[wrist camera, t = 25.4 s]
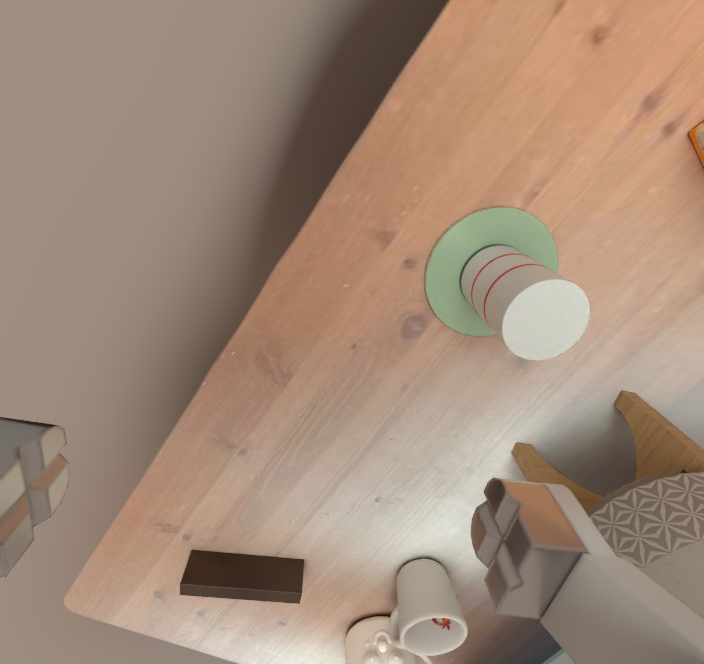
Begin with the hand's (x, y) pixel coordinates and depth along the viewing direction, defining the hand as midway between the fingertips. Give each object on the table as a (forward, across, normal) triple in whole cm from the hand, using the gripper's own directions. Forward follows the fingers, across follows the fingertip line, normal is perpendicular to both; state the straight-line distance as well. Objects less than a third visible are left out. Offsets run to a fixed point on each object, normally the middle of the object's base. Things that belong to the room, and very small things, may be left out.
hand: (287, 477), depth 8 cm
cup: (+29, -20, +44) cm, 56 cm away
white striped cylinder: (+27, -16, +6) cm, 32 cm away
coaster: (+29, -16, +2) cm, 33 cm away
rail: (+29, +2, +44) cm, 52 cm away
